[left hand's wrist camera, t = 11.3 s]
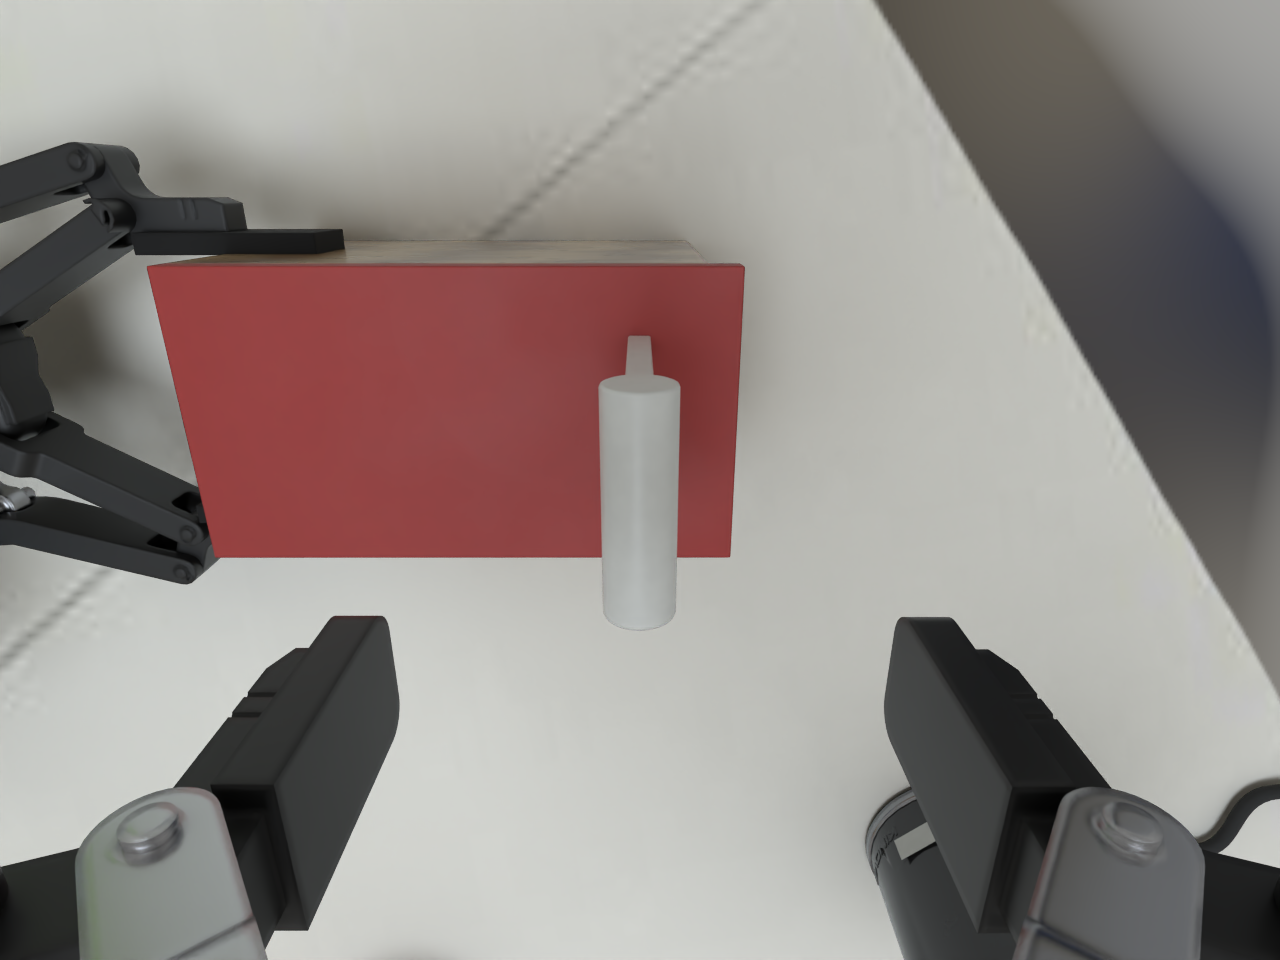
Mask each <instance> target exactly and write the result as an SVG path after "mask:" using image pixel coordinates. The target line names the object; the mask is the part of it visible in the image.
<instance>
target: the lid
mask: <svg viewBox="0 0 1280 960" xmlns="http://www.w3.org/2000/svg"><path fill="white" fill-rule="evenodd" d="M147 270H148V275H149V279H150V283H151V287H152V292H153V296H154V300H155V304H156V309H157V313H158V317H159V321H160V326H161V330H162V334H163V338H164V343H165V347H166V351H167V355H168V359H169V364H170V368H171V372H172V376H173V381H174V385H175V389H176V393H177V398H178V402H179V406H180V410H181V415H182V419H183V423H184V427H185V432H186V436H187V440H188V444H189V449H190V453H191V457H192V461H193V466H194V470H195V474H196V478H197V482H198V487H199V491H200V495H201V499H202V504H203V508H204V512H205V516H206V521H207V525H208V529H209V533H210V538H211V542H212V546H213V550H214V555H215V557H216V558H304V557H602V582H603V612H604V615H605V617H606V618H607V620H608V621H609V622H611V623H612V624H614V625H616V626H618V627H620V628H624V629H628V630H651V629H655V628H658V627H661V626H663V625H665V624H667V623H668V622H669V621H671V619H672V618H673V616H674V614H675V612H676V573H677V557H730V551H731V531H732V511H733V492H734V472H735V452H736V432H737V412H738V393H739V373H740V353H741V333H742V313H743V294H744V274H745V267H744V266H743V265H741V264H651V263H164V264H158V265H151V266H147Z"/></svg>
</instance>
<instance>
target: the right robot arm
mask: <svg viewBox="0 0 1280 960" xmlns="http://www.w3.org/2000/svg"><path fill="white" fill-rule="evenodd" d="M139 167H140V165H139V162H138V159H137V157H136V156H135V154H134V153H133V152H132V151H131V150H129V149H128V148H125V147H122V146H114V145H103V144H92V143H80V142H70V143H66V144H63V145H60V146H57V147H54V148H51V149H48V150H45V151H42V152H39V153H36V154H33V155H30V156H27V157H24V158H21V159H18V160H16V161H13V162H10V163H7V164H4V165H1V166H0V223H3V222H6V221H9V220H12V219H15V218H18V217H21V216H24V215H27V214H30V213H33V212H36V211H39V210H42V209H45V208H48V207H51V206H54V205H57V204H60V203H63V202H66V201H69V200H72V199H76V198H79V197H82V196H85V195H88V194H89V195H90V197H91V198H88V199H86V200H83V202H84V203H85V204H91V203H92V205H91V206H89V207H88V208H86V209H85V210H84V211H82V212H81V213H79V214H78V215H77V216H75V217H74V218H72V219H71V220H70V221H68V222H67V223H65V224H64V225H63V226H61V227H60V228H58V229H57V230H56V231H54V232H53V233H51V234H50V235H49V236H47V237H46V238H44V239H43V240H42V241H40V242H39V243H37V244H36V245H35V246H33V247H32V248H30V249H29V250H28V251H26V252H25V253H23V254H22V255H21V256H19V257H18V258H16V259H15V260H14V261H12V262H11V263H9V264H8V265H7V266H5V267H4V268H2V269H1V270H0V471H2V472H4V473H7V474H9V475H12V476H15V477H21V478H23V477H33V478H37V479H40V480H42V481H44V482H46V483H48V484H51V485H53V486H55V487H57V488H60V489H62V490H64V491H66V492H68V493H71V494H73V495H75V496H77V497H79V498H82V499H84V500H86V501H88V502H91V503H93V504H95V505H97V506H99V507H96V506H92V505H88V504H83V503H79V502H75V501H71V500H67V499H62V498H56V497H46V496H43V497H35V496H36V494H35V492H34V490H33V489H32V488H29V487H24V488H22V489H20V488H17V487H13V486H8V485H5V484H3V483H2V482H0V545H18V546H22V547H26V548H30V549H35V550H39V551H43V552H47V553H52V554H56V555H60V556H64V557H69V558H73V559H77V560H81V561H86V562H90V563H94V564H98V565H103V566H107V567H111V568H115V569H120V570H124V571H128V572H132V573H137V574H141V575H145V576H150V577H154V578H158V579H162V580H167V581H171V582H175V583H179V584H190V583H192V582H193V581H195V580H196V579H197V578H198V577H199V576H201V575H202V574H203V573H204V572H205V571H206V570H207V569H209V568H210V567H211V566H212V565H213V564H214V563H215V562H217V561H218V560H219V559H220V558H216V557H215V555H214V550H213V546H212V542H211V538H210V533H209V529H208V525H207V521H206V516H205V512H204V508H203V504H202V499H201V495H200V491H199V488H198V487H196V486H194V485H192V484H190V483H187V482H185V481H183V480H181V479H179V478H177V477H175V476H172V475H170V474H168V473H166V472H164V471H162V470H160V469H157V468H155V467H153V466H151V465H149V464H147V463H145V462H142V461H140V460H138V459H136V458H134V457H132V456H130V455H128V454H125V453H123V452H121V451H119V450H117V449H115V448H113V447H110V446H108V445H106V444H104V443H102V442H100V441H98V440H95V439H93V438H91V437H89V436H87V435H85V433H84V428H83V427H82V426H81V425H79V424H77V423H75V422H73V421H71V420H68V419H66V418H64V417H62V416H60V415H58V414H56V413H54V412H51V411H54V407H53V404H52V401H51V397H50V394H49V392H48V390H47V388H46V387H45V385H44V383H43V381H42V380H41V378H40V376H39V373H38V354H37V351H36V348H35V344H34V341H33V338H32V337H25V336H24V334H23V333H22V332H21V331H22V330H23V329H25V328H26V327H28V326H29V325H30V324H32V323H33V322H35V321H36V320H38V319H39V318H41V317H42V316H44V315H45V314H46V313H48V312H49V310H50V309H49V307H50V306H51V305H53V304H54V303H56V302H57V301H59V300H60V299H62V298H63V297H64V296H66V295H67V294H69V293H70V292H72V291H73V290H75V289H76V288H78V287H79V286H80V285H82V284H83V283H85V282H86V281H88V280H89V279H91V278H92V277H93V276H95V275H96V274H98V273H99V272H101V271H102V270H104V269H105V268H106V267H108V266H109V265H111V264H112V263H114V262H115V261H117V260H118V259H119V258H121V257H122V256H124V255H125V254H127V253H128V252H130V251H131V250H133V249H134V251H135V255H223V254H320V253H326V252H331V251H336V250H341V249H345V245H344V238H343V230H342V229H247V225H246V220H245V214H244V209H243V203H241V202H238V201H236V200H233V199H231V198H228V197H223V198H166V197H160V196H157V195H155V194H153V193H152V192H150V191H149V190H148V189H147V188H146V186H145V185H144V184H143V182H142V180H141V178H140V177H139V175H138V173H139ZM100 507H102V508H100Z"/></svg>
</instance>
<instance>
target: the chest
mask: <svg viewBox="0 0 1280 960" xmlns="http://www.w3.org/2000/svg"><path fill="white" fill-rule="evenodd" d="M344 245H345V249H341V250H336V251H331V252H326V253H320V254H223V255H217V256H210V257H203V258H197V259H190V260H184V261H177V262H171V263H651V264H708V263H707V262H706V260H705V259H704V258H703V257H702V256H701V255H700V254H699V253H698V252H697V251H696V250H695V249H694V248H693V247H692V246H691V245H690V244H689V242H687V241H344Z"/></svg>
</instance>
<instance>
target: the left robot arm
mask: <svg viewBox="0 0 1280 960" xmlns="http://www.w3.org/2000/svg"><path fill="white" fill-rule="evenodd" d="M884 715H885V723H886V729H887V733H888V736H889V739H890V742H891V744H892V746H893V748H894V751H895V753H896V755H897V757H898V759H899V762H900V764H901V766H902V768H903V770H904V773H905V775H906V777H907V779H908V781H909V784H910V786H911V788H912V789H911V790H909V791H907V792H905V793H903V794H901V795H900V796H898V797H896V798H895V799H894V800H892V801H891V802H890V803H888V804H887V805H886V806H885V807H884V808H883V809H882V810H881V811H880V812H879V813H878V814H877V816H876V817H875V819H874V820H873V822H872V824H871V826H870V828H869V830H868V834H867V838H866V853H867V857H868V860H869V863H870V866H871V869H872V871H873V873H874V875H875V878H876V881H877V884H878V885H879V887H880V890H881V893H882V896H883V899H884V902H885V905H886V908H887V911H888V914H889V917H890V920H891V923H892V926H893V929H894V932H895V935H896V938H897V941H898V944H899V947H900V949H901V952H902V955H903V958H904V960H1280V868H1276V867H1272V866H1268V865H1264V864H1260V863H1256V862H1251V861H1247V860H1243V859H1239V858H1235V857H1231V856H1226V855H1222V854H1218V853H1219V852H1220V851H1222V850H1224V849H1225V848H1226V847H1227V846H1228V845H1229V844H1230V843H1231V842H1232V841H1233V839H1234V838H1235V837H1236V835H1237V834H1238V832H1239V830H1240V829H1241V827H1242V826H1243V824H1244V822H1245V821H1246V819H1247V818H1248V816H1249V815H1250V814H1251V813H1252V812H1253V811H1254V810H1255V809H1256V808H1257V807H1258V806H1260V805H1261V804H1263V803H1265V802H1268V801H1270V800H1275V799H1280V784H1277V785H1270V786H1264V787H1260V788H1257V789H1254V790H1252V791H1251V792H1249V793H1247V794H1246V795H1244V796H1243V797H1242V798H1241V799H1240V800H1239V801H1238V802H1237V804H1236V805H1235V806H1234V808H1233V809H1232V811H1231V812H1230V814H1229V815H1228V817H1227V819H1226V820H1225V822H1224V824H1223V825H1222V827H1221V828H1220V829H1219V831H1218V832H1217V833H1216V834H1215V835H1214V836H1213V837H1212V838H1210V839H1209V840H1207V841H1205V842H1202V843H1199V844H1198V843H1197V841H1196V839H1195V838H1194V837H1193V836H1192V835H1191V833H1190V832H1189V831H1188V830H1187V829H1186V828H1185V827H1184V826H1183V825H1182V824H1181V823H1180V822H1179V821H1177V820H1176V819H1175V818H1174V817H1172V816H1171V815H1170V814H1168V813H1167V812H1165V811H1164V810H1162V809H1161V808H1159V807H1157V806H1156V805H1154V804H1152V803H1150V802H1148V801H1146V800H1144V799H1142V798H1139V797H1137V796H1135V795H1132V794H1129V793H1126V792H1123V791H1119V790H1115V789H1112V788H1111V787H1110V786H1109V785H1108V783H1107V782H1106V781H1105V780H1104V778H1103V777H1102V776H1101V774H1100V773H1099V772H1098V771H1097V769H1096V768H1095V767H1094V766H1093V764H1092V763H1091V762H1090V761H1089V759H1088V758H1087V757H1086V755H1085V754H1084V753H1083V752H1082V750H1081V749H1080V748H1079V747H1078V745H1077V744H1076V743H1075V741H1074V740H1073V739H1072V738H1071V736H1070V735H1069V734H1068V733H1067V731H1066V730H1065V729H1064V728H1063V726H1062V725H1061V724H1060V722H1059V721H1058V720H1057V719H1053V714H1052V712H1051V711H1050V710H1049V709H1048V707H1047V706H1046V705H1045V703H1044V702H1043V701H1042V700H1041V699H1038V698H1037V693H1036V692H1035V691H1034V689H1033V688H1032V687H1031V686H1030V684H1029V683H1028V682H1027V681H1026V679H1025V678H1024V677H1023V676H1022V674H1021V673H1020V672H1019V670H1017V669H1016V668H1014V667H1013V666H1012V665H1010V664H1009V663H1007V662H1006V661H1004V660H1003V659H1001V658H1000V657H999V656H997V655H996V654H994V653H993V652H991V651H990V650H988V649H975V648H974V646H973V645H972V644H971V642H970V641H969V640H968V638H967V637H966V635H965V634H964V633H963V631H962V630H961V629H960V627H959V626H958V625H957V623H956V622H955V621H954V620H953V619H952V618H950V617H901V618H900V619H899V620H898V622H897V624H896V627H895V631H894V638H893V645H892V651H891V658H890V665H889V672H888V678H887V685H886V692H885V700H884ZM398 719H399V693H398V686H397V679H396V672H395V665H394V658H393V652H392V645H391V638H390V631H389V626H388V623H387V621H386V619H385V617H383V616H333V617H332V618H331V619H330V620H329V621H328V622H327V624H326V625H325V626H324V628H323V629H322V630H321V632H320V633H319V635H318V636H317V637H316V639H315V640H314V641H313V643H312V644H311V646H310V647H309V648H295V649H294V650H292V651H291V652H290V653H288V654H287V655H285V656H284V657H282V658H281V659H279V660H278V661H277V662H275V663H274V664H272V665H271V666H269V667H268V668H266V670H265V671H264V672H263V674H262V675H261V676H260V677H259V679H258V680H257V681H256V682H255V684H254V685H253V686H252V688H251V689H250V690H249V691H248V696H247V697H244V698H243V699H242V700H241V702H240V703H239V704H238V706H237V707H236V708H235V709H234V711H233V712H232V717H228V718H227V720H226V721H225V722H224V723H223V725H222V726H221V727H220V729H219V730H218V731H217V732H216V734H215V735H214V736H213V738H212V739H211V740H210V741H209V743H208V744H207V745H206V746H205V748H204V749H203V750H202V752H201V753H200V754H199V755H198V757H197V758H196V759H195V761H194V762H193V763H192V764H191V766H190V767H189V768H188V770H187V771H186V772H185V773H184V775H183V776H182V777H181V778H180V780H179V781H178V782H177V784H176V785H175V786H174V787H173V788H170V789H165V790H161V791H157V792H154V793H151V794H148V795H145V796H143V797H141V798H138V799H136V800H134V801H132V802H130V803H128V804H126V805H124V806H123V807H121V808H119V809H118V810H116V811H115V812H113V813H112V814H110V815H109V816H108V817H106V818H105V819H104V820H103V821H101V822H100V823H99V824H98V825H97V826H96V827H95V828H94V829H93V830H92V831H91V832H90V833H89V835H88V836H87V837H86V838H85V839H84V841H83V843H82V844H81V846H80V848H77V849H73V850H69V851H65V852H61V853H57V854H53V855H49V856H44V857H40V858H36V859H32V860H28V861H24V862H19V863H15V864H11V865H7V866H3V867H0V960H268V959H267V955H266V952H265V949H266V947H267V945H268V943H269V941H270V939H271V937H272V935H273V932H274V931H308V929H309V927H310V925H311V922H312V920H313V918H314V916H315V914H316V911H317V909H318V907H319V905H320V902H321V900H322V898H323V896H324V893H325V891H326V889H327V887H328V885H329V882H330V880H331V878H332V876H333V873H334V871H335V869H336V867H337V865H338V862H339V860H340V858H341V856H342V853H343V851H344V849H345V847H346V844H347V842H348V840H349V838H350V836H351V833H352V831H353V829H354V827H355V824H356V822H357V820H358V818H359V815H360V813H361V811H362V809H363V807H364V804H365V802H366V800H367V798H368V795H369V793H370V791H371V789H372V787H373V784H374V782H375V780H376V778H377V775H378V773H379V771H380V769H381V766H382V764H383V762H384V760H385V758H386V755H387V753H388V751H389V749H390V746H391V744H392V742H393V740H394V737H395V734H396V730H397V726H398Z"/></svg>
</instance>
